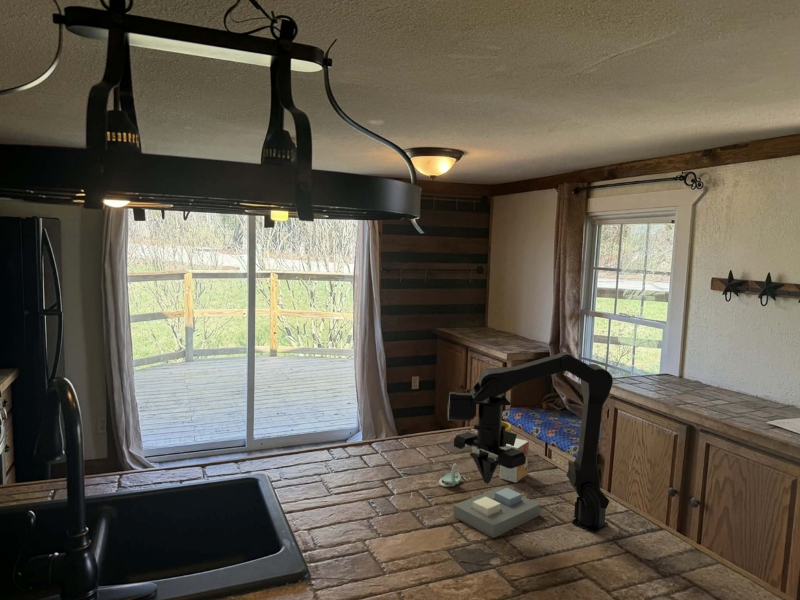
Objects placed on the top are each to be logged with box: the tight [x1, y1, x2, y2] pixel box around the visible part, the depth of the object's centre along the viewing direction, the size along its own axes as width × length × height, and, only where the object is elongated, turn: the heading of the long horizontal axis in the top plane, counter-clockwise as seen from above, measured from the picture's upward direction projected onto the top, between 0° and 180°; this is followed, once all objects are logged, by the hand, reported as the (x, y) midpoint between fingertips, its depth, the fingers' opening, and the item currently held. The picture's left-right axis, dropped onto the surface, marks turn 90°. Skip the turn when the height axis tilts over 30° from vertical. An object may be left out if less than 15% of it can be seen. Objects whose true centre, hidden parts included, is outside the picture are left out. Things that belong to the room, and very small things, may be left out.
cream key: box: [473, 497, 500, 517], centre depth 136 cm, size 5×5×3 cm
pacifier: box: [438, 463, 462, 488], centre depth 158 cm, size 7×6×6 cm
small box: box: [498, 437, 530, 483], centre depth 164 cm, size 8×6×10 cm
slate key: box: [495, 487, 523, 507], centre depth 142 cm, size 5×5×3 cm
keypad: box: [453, 486, 541, 539], centre depth 139 cm, size 13×18×3 cm
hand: (487, 482), depth 136 cm, fingers closed
